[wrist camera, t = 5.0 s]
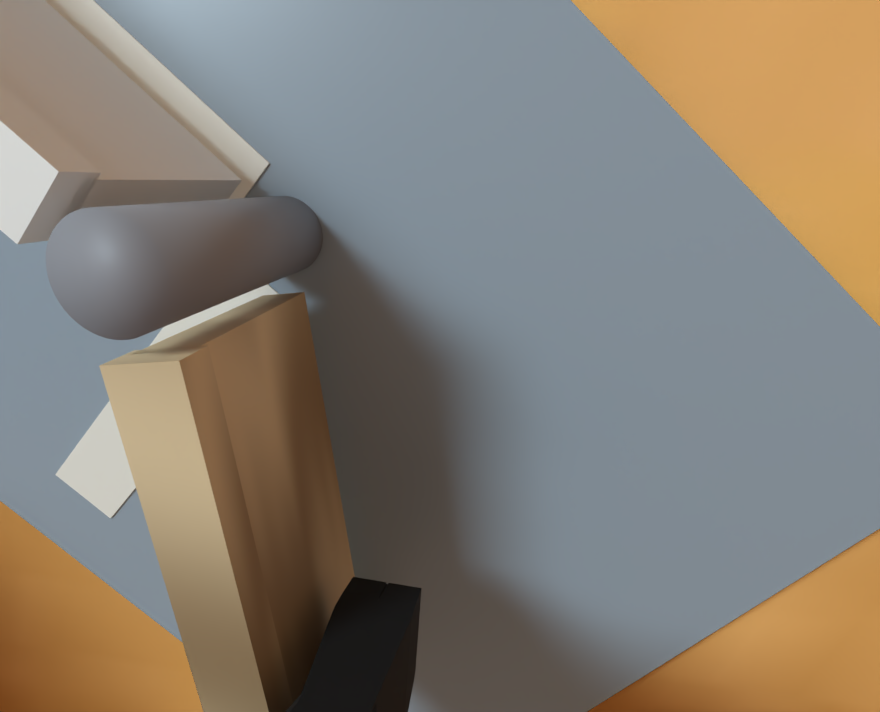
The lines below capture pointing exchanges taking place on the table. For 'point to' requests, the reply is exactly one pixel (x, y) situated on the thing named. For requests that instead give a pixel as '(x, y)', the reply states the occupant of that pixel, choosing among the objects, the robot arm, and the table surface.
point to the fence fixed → (125, 189)
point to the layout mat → (487, 339)
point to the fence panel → (238, 495)
